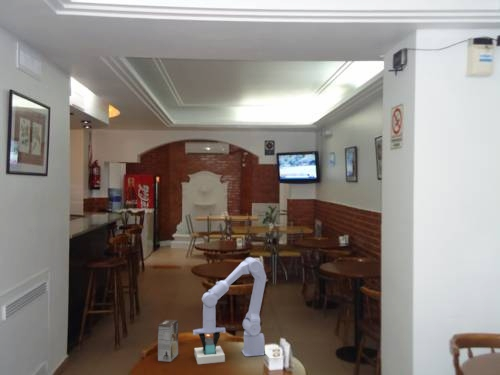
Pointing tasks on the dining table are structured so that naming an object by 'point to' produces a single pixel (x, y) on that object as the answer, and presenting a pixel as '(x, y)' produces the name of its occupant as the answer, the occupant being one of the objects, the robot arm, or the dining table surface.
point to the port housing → (209, 356)
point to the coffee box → (167, 340)
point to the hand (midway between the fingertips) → (209, 349)
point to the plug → (209, 346)
